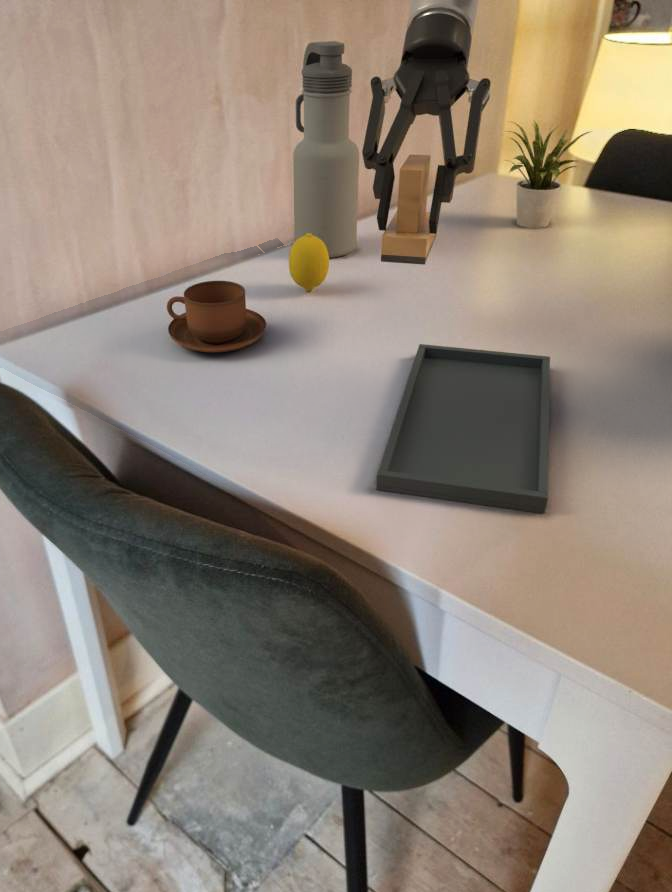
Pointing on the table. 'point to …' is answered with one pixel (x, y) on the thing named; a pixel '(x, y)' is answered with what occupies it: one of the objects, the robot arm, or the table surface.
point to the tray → (472, 429)
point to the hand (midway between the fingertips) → (406, 225)
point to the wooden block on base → (410, 216)
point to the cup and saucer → (215, 318)
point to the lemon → (308, 262)
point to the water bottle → (326, 152)
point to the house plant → (539, 179)
